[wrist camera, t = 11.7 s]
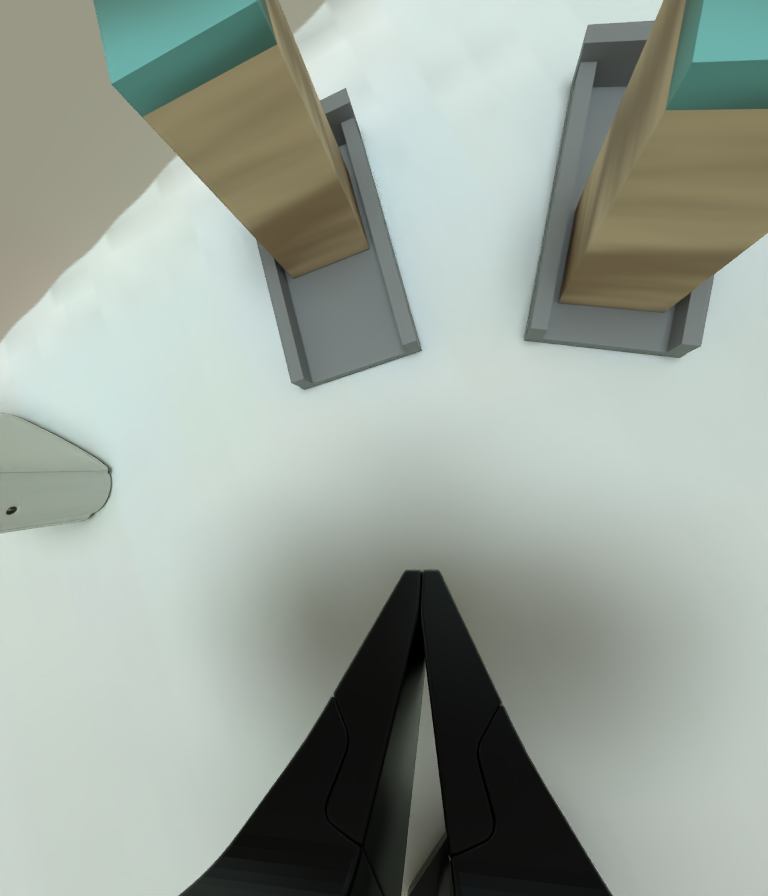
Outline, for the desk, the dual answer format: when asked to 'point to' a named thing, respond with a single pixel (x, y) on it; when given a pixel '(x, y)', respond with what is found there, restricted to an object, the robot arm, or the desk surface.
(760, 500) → the desk surface
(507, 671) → the desk surface
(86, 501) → the photo printer
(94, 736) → the desk surface
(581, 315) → the slate track
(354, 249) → the oak key
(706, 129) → the oak key
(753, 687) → the desk surface
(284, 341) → the slate track
